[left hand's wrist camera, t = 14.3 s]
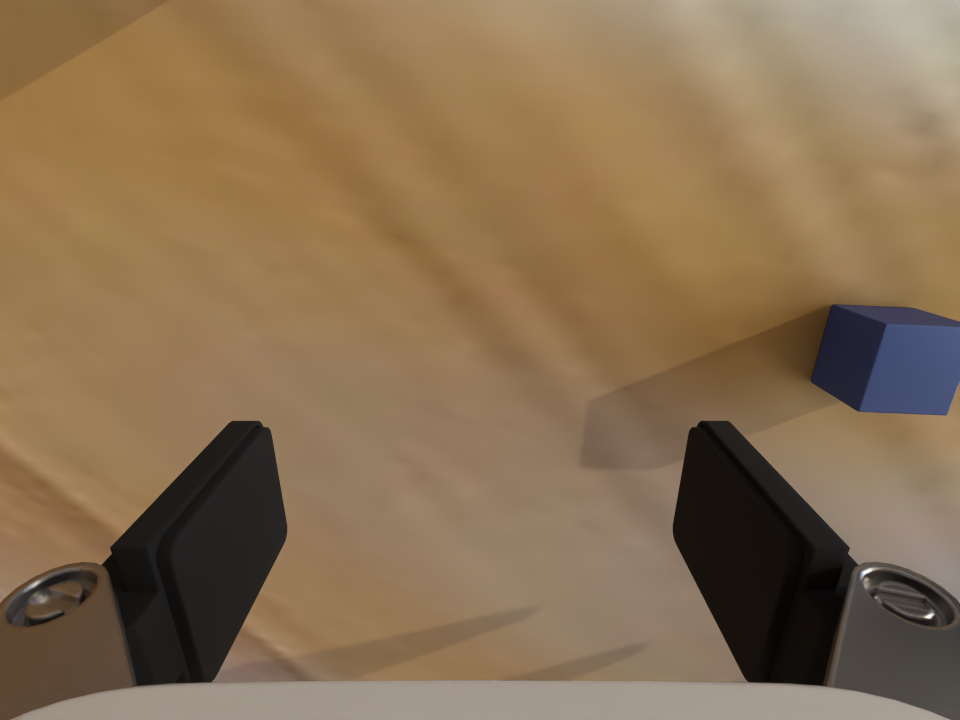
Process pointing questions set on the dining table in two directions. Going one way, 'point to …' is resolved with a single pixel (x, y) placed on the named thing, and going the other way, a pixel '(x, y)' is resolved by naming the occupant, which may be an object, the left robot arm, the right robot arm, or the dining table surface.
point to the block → (889, 359)
